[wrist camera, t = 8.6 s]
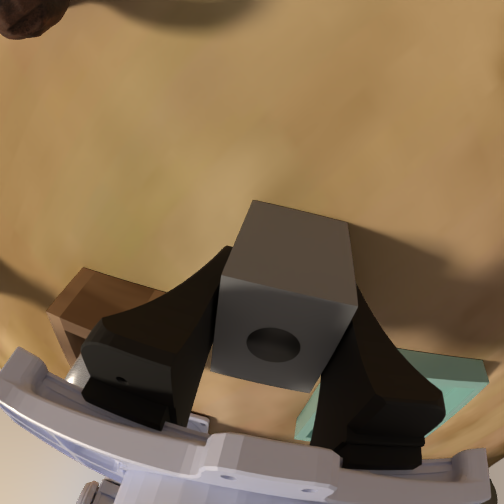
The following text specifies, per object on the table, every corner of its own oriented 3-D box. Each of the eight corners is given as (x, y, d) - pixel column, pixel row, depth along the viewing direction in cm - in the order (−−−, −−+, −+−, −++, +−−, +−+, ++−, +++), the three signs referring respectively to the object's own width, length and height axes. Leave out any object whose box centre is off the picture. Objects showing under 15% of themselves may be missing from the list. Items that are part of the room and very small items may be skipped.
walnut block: (174, 356, 20) (153, 404, 17) (98, 331, 21) (73, 372, 18) (171, 294, 17) (142, 349, 14) (82, 267, 17) (45, 311, 14)
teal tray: (408, 430, 22) (410, 448, 20) (296, 418, 23) (294, 439, 21) (482, 360, 16) (489, 382, 14) (345, 339, 17) (346, 366, 15)
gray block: (315, 308, 16) (309, 393, 12) (237, 290, 16) (210, 371, 12) (347, 222, 13) (358, 307, 9) (252, 199, 13) (221, 275, 9)
